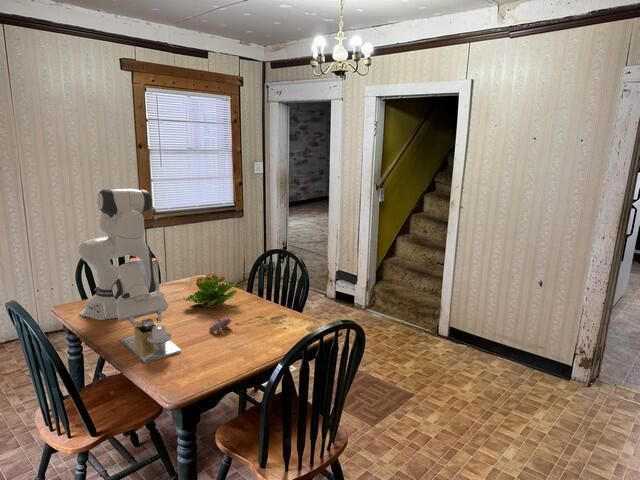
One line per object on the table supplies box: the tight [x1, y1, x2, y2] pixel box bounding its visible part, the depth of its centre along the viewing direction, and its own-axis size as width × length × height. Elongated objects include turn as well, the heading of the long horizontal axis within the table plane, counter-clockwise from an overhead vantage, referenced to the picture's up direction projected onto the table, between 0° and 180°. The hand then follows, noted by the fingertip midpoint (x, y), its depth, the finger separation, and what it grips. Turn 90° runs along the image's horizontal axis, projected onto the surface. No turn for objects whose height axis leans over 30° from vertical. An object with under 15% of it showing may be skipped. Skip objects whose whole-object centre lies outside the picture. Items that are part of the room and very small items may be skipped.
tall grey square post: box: [141, 318, 155, 333], centre depth 180 cm, size 4×4×10 cm
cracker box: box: [127, 257, 160, 292], centre depth 236 cm, size 14×6×21 cm, turn 93°
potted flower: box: [183, 273, 238, 308], centre depth 227 cm, size 25×24×18 cm
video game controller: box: [208, 316, 232, 333], centre depth 198 cm, size 10×5×7 cm, turn 150°
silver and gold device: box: [121, 321, 182, 365], centre depth 178 cm, size 26×15×12 cm, turn 43°
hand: (148, 324), depth 179 cm, fingers open, 8 cm apart
